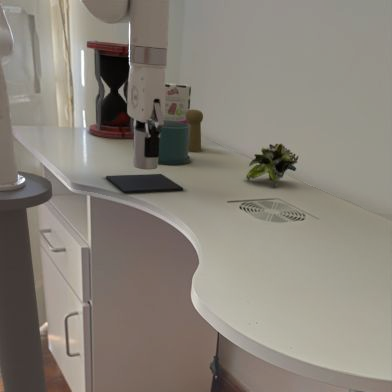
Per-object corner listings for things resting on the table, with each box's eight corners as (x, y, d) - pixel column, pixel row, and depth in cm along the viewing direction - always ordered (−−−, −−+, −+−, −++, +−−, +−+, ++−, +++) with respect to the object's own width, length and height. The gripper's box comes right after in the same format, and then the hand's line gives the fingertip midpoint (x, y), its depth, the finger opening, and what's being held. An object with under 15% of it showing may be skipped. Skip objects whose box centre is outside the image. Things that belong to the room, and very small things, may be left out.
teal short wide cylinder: (152, 165, 123) (154, 128, 118) (133, 153, 132) (134, 118, 127) (198, 164, 128) (201, 128, 123) (176, 153, 138) (178, 119, 133)
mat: (124, 193, 100) (124, 190, 99) (106, 178, 108) (106, 175, 108) (183, 190, 106) (183, 187, 106) (161, 176, 114) (161, 173, 114)
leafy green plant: (267, 200, 125) (297, 162, 122) (279, 205, 115) (312, 164, 112) (235, 172, 121) (266, 132, 118) (245, 175, 111) (279, 131, 108)
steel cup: (139, 170, 102) (139, 132, 98) (130, 164, 106) (130, 127, 101) (161, 169, 104) (163, 132, 100) (152, 163, 108) (153, 127, 104)
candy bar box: (184, 140, 155) (188, 84, 146) (187, 143, 151) (192, 86, 142) (150, 138, 152) (152, 81, 143) (153, 142, 148) (155, 83, 139)
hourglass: (117, 141, 144) (117, 45, 131) (78, 131, 151) (74, 39, 137) (148, 135, 156) (151, 47, 142) (111, 127, 163) (111, 41, 149)
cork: (205, 150, 145) (208, 111, 139) (194, 152, 141) (197, 112, 135) (189, 146, 148) (192, 107, 141) (177, 148, 143) (180, 108, 137)
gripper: (115, 53, 98) (116, 145, 108) (147, 60, 86) (145, 164, 96) (148, 55, 101) (146, 145, 111) (184, 63, 89) (178, 163, 99)
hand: (145, 153), depth 103 cm, fingers closed on steel cup, 5 cm apart
